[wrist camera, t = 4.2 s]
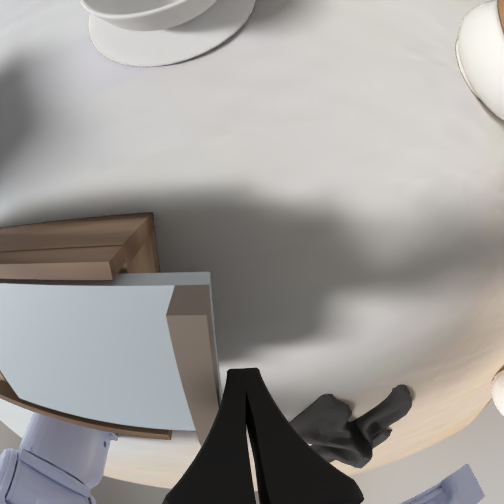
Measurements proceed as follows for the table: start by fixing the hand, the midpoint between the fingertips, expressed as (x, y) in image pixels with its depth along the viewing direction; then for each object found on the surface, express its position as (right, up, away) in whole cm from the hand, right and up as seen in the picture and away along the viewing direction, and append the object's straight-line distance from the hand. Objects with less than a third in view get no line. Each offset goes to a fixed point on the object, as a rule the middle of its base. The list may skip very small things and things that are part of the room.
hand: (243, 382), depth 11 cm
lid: (-9, 0, 0) cm, 9 cm away
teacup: (-4, +20, -1) cm, 21 cm away
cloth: (+12, -17, +16) cm, 26 cm away
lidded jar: (+19, +21, +1) cm, 28 cm away
